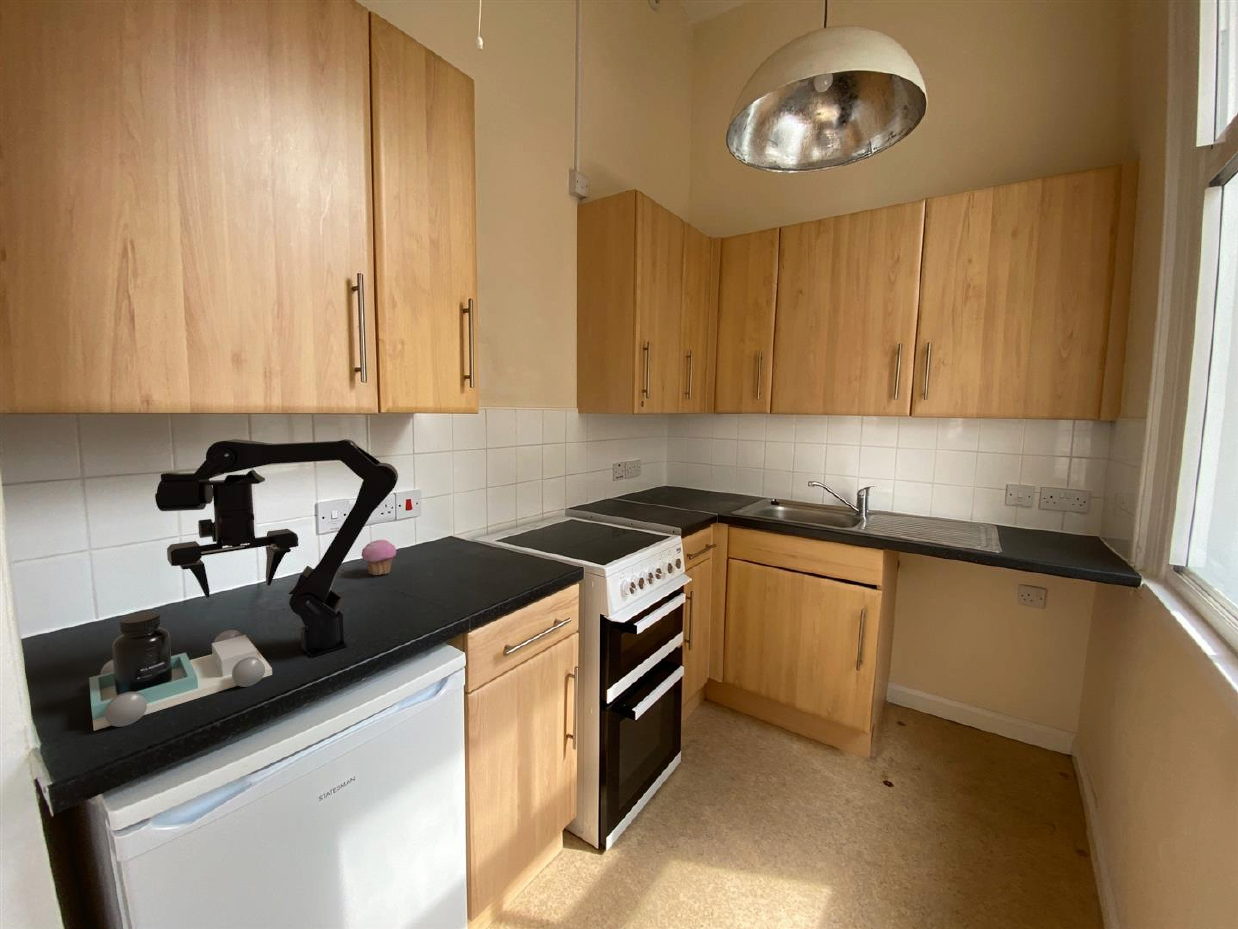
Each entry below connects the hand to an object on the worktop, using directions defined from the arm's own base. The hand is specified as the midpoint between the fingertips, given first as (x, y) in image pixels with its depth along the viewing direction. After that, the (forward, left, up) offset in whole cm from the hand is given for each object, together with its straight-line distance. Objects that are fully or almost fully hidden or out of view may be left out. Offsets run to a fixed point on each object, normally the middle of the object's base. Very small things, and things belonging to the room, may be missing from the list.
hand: (239, 591), depth 94 cm
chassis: (+9, +4, -13) cm, 16 cm away
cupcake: (-38, -32, -13) cm, 51 cm away
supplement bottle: (+14, +4, -12) cm, 19 cm away
